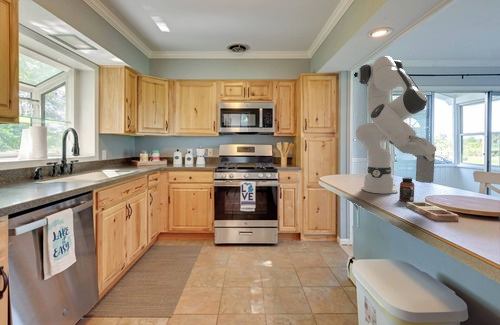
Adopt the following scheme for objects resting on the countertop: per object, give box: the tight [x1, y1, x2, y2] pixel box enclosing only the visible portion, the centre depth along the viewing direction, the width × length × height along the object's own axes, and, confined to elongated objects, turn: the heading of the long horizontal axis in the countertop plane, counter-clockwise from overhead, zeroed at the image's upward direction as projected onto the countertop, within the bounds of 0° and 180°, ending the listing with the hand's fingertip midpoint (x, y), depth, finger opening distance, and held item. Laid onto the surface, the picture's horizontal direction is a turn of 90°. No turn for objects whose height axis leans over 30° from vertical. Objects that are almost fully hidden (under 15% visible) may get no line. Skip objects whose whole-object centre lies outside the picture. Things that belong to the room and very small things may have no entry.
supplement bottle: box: [398, 177, 415, 203], centre depth 121 cm, size 6×6×11 cm
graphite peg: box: [415, 151, 436, 184], centre depth 105 cm, size 4×4×13 cm
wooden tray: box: [406, 201, 460, 222], centre depth 102 cm, size 19×8×2 cm, turn 176°
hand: (426, 159), depth 105 cm, fingers closed on graphite peg, 4 cm apart
